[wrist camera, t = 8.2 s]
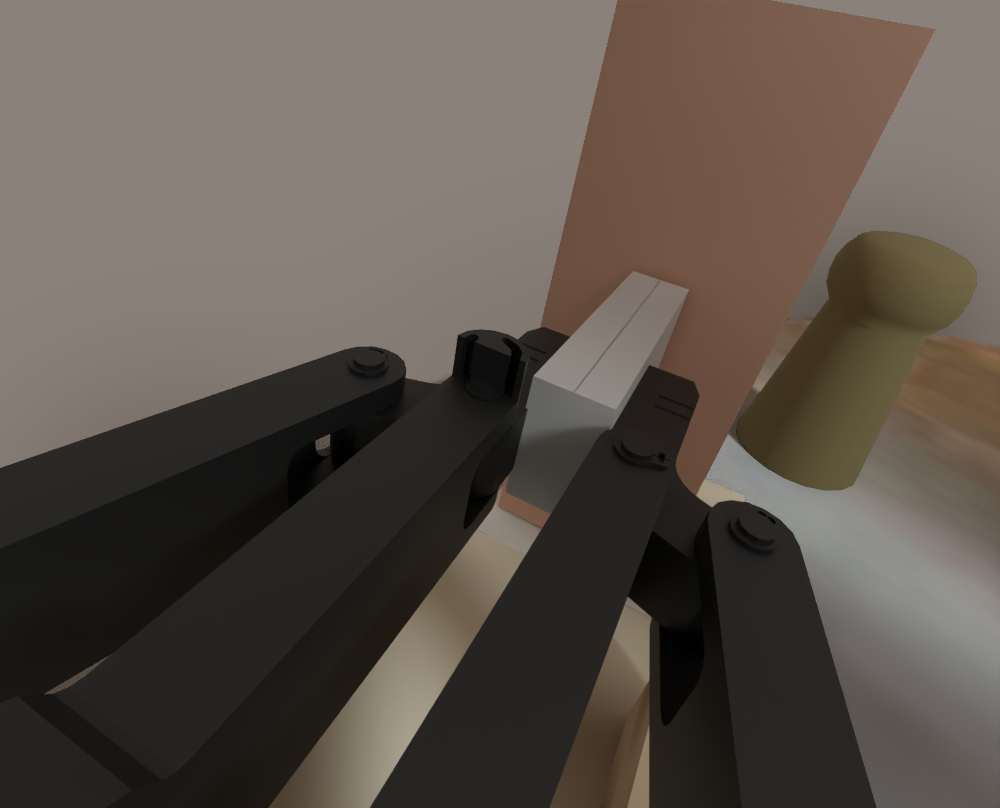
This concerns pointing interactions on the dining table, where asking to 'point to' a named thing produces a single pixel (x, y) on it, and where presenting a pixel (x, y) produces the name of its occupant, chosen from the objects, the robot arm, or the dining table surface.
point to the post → (721, 179)
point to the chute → (435, 655)
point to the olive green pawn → (855, 357)
